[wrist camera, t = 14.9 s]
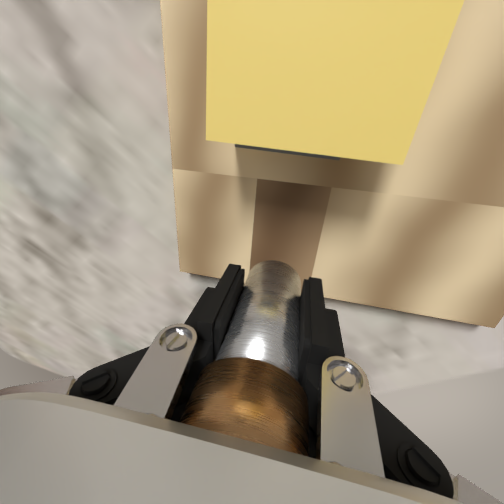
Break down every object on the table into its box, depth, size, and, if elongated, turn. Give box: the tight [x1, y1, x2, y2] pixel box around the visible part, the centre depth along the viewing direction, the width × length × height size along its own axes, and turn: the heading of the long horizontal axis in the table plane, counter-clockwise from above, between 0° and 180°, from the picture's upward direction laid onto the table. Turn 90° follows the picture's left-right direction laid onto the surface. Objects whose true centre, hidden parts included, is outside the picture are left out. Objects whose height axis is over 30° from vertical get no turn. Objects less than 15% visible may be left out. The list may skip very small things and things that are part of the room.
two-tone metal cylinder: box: [179, 260, 309, 457], centre depth 9 cm, size 3×3×9 cm
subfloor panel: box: [160, 0, 504, 328], centre depth 13 cm, size 20×16×1 cm
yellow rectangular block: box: [206, 0, 464, 165], centre depth 9 cm, size 7×6×4 cm
